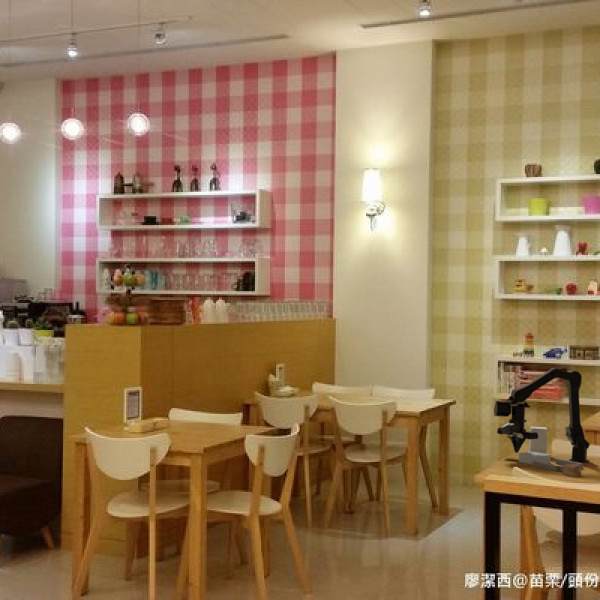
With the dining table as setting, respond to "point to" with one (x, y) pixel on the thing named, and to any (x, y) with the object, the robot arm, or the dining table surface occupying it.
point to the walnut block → (572, 470)
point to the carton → (534, 457)
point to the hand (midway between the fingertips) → (516, 452)
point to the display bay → (554, 467)
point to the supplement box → (539, 440)
